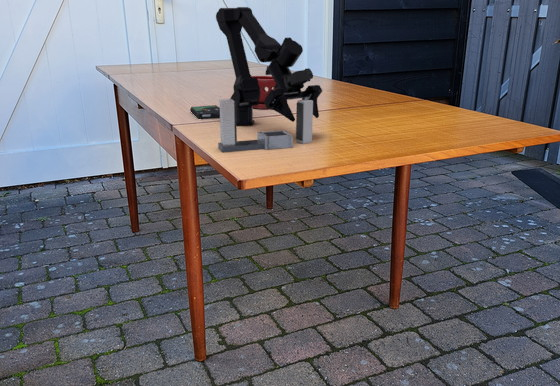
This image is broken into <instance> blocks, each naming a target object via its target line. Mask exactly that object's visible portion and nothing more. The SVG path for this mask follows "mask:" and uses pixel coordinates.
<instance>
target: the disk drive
mask: <svg viewBox="0 0 560 386" xmlns="http://www.w3.org/2000/svg"><path fill="white" fill-rule="evenodd" d="M189 110H190V111H191V112H192V113H193V114H194V115H195V116H196V117H197V118H198V119H201V120H211V119H212V120H213V119H220V106H218V105H216V104H215V105H201V106H191V107H190V109H189ZM191 112H190V113H191ZM192 113H191V114H192ZM193 114H192V115H193ZM194 115H193V116H194ZM195 116H194V117H195ZM196 117H195V118H196ZM197 118H196V119H197ZM198 119H197V120H198Z"/></svg>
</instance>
